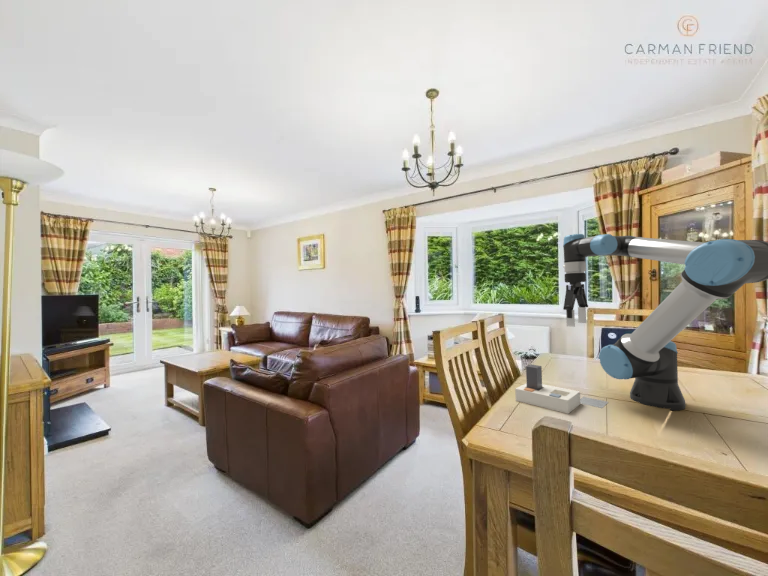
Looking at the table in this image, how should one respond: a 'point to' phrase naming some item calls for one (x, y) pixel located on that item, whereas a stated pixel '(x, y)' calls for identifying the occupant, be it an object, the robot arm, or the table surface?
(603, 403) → the mat
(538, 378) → the grey tall block
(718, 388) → the table surface
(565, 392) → the socket block
